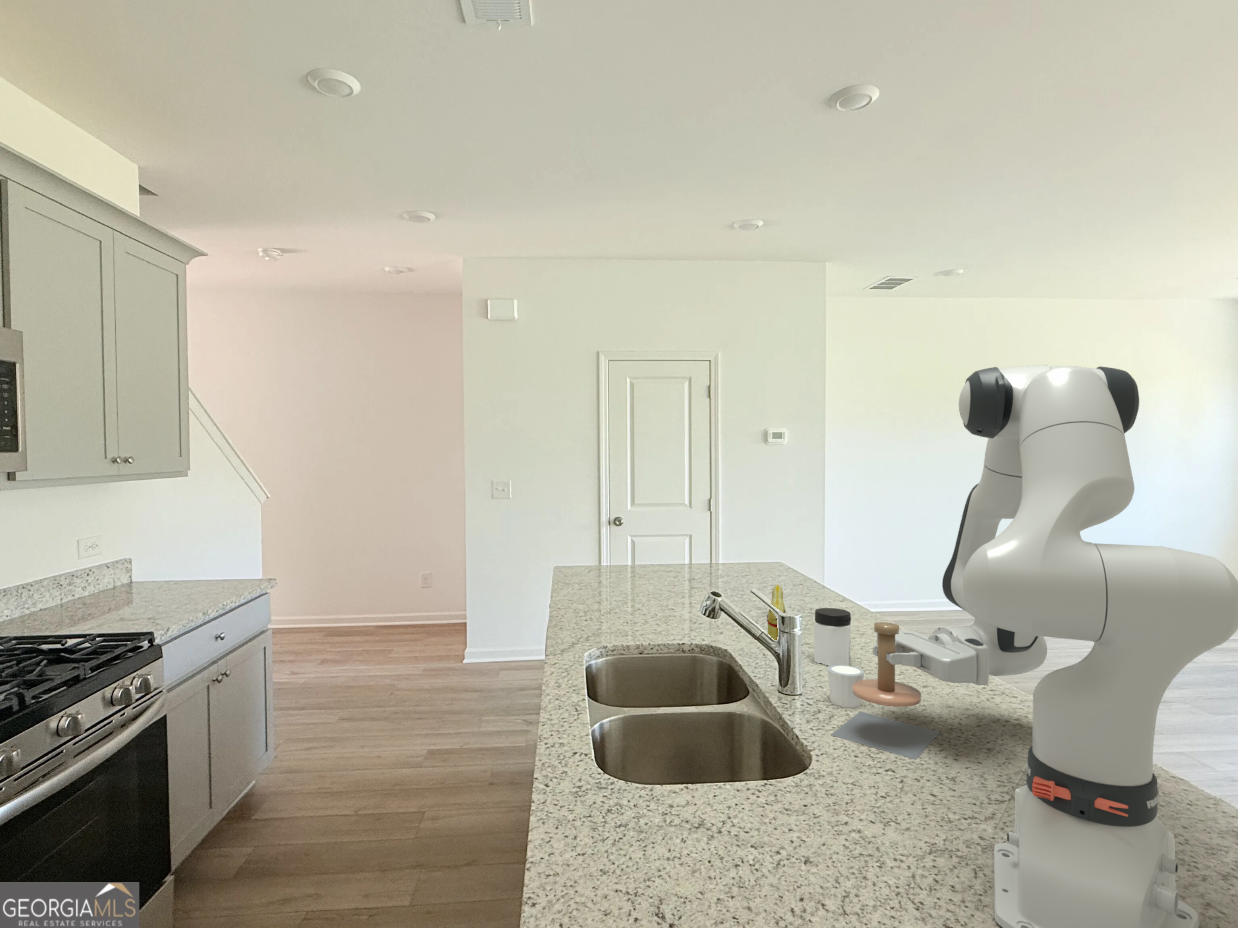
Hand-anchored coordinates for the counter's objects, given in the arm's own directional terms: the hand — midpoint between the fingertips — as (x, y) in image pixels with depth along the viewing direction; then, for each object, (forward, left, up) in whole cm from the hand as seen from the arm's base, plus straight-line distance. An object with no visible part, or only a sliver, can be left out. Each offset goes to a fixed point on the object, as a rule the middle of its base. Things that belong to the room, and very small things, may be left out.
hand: (881, 654), depth 113 cm
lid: (+1, -1, -7) cm, 7 cm away
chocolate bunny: (+43, +41, -15) cm, 61 cm away
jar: (+36, +24, -15) cm, 45 cm away
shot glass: (+11, +11, -15) cm, 21 cm away
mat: (+1, 0, -14) cm, 14 cm away
